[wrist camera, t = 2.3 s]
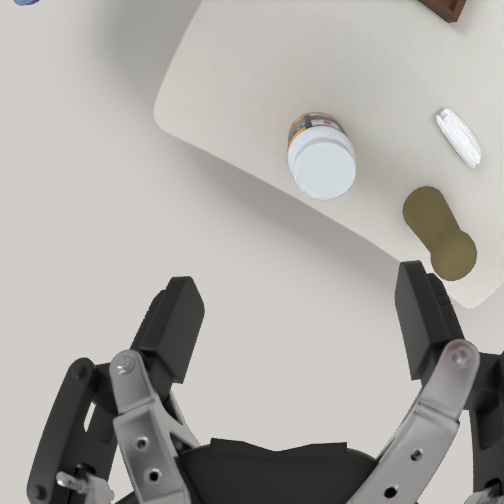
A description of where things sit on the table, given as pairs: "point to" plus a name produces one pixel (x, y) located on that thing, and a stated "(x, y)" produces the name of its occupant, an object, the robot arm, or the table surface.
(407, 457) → the robot arm
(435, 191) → the cork
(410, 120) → the table surface
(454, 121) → the sub sandwich
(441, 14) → the tray
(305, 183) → the pill bottle
